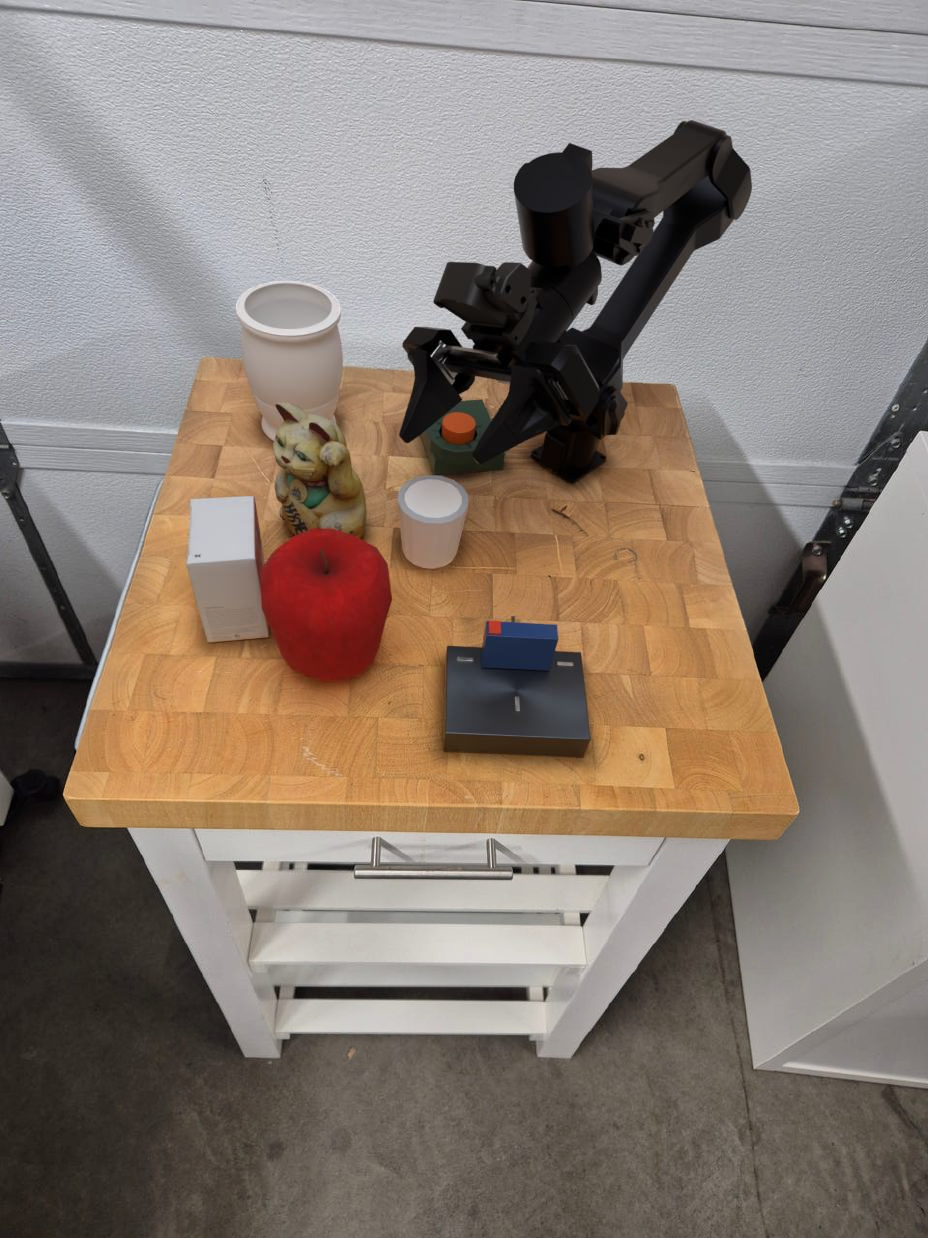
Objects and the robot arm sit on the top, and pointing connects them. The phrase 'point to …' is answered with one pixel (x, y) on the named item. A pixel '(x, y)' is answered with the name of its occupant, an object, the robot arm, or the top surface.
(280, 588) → the apple
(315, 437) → the lucky beckoning cat
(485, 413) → the button base
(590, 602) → the top surface
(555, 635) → the tap handle
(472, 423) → the button
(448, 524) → the white cup
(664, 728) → the top surface
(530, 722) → the tap plate
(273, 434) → the jar
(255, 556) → the small box
